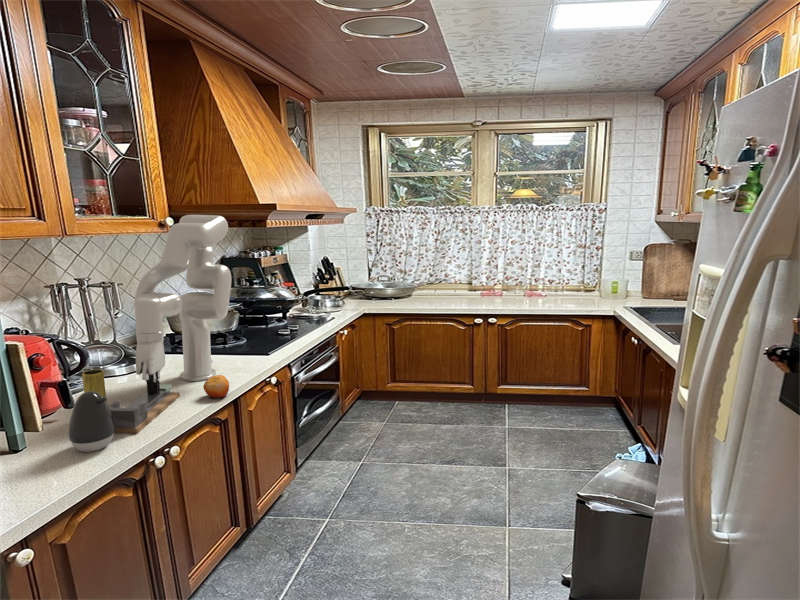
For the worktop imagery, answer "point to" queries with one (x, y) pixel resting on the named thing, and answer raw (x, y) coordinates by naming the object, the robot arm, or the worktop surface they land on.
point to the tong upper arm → (150, 396)
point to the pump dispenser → (91, 423)
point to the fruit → (216, 386)
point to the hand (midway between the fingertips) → (153, 392)
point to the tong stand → (139, 413)
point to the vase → (94, 381)
